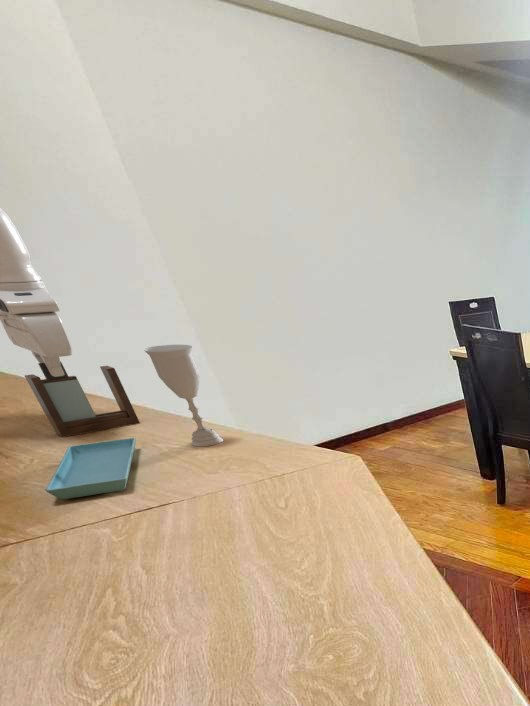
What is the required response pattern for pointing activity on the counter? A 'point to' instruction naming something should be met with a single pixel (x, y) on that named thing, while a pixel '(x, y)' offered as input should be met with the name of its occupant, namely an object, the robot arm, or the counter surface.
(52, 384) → the window pane
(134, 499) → the counter surface
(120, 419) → the window frame
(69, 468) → the shallow long dish
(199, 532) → the counter surface
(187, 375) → the chalice
